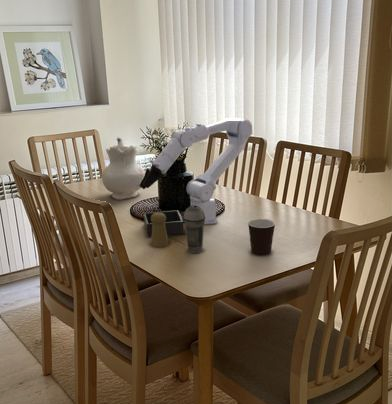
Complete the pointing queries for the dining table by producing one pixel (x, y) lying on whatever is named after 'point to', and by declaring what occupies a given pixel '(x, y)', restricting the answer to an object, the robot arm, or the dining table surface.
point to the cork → (159, 230)
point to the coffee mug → (261, 236)
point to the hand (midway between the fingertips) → (143, 187)
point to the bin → (166, 223)
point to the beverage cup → (194, 227)
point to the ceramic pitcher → (122, 172)
